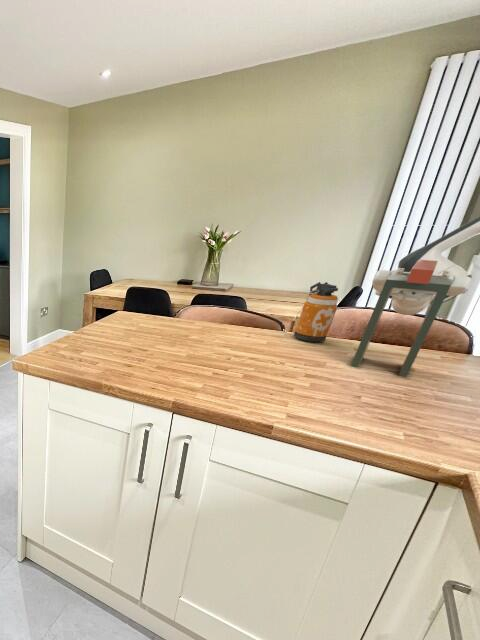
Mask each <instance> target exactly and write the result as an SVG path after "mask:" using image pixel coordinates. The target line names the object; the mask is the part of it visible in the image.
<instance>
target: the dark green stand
mask: <svg viewBox="0 0 480 640" xmlns="http://www.w3.org/2000/svg"><path fill="white" fill-rule="evenodd" d="M408 277H409V276H407V275H394V274H391V275H390V276H389V277H388V278H387V279H386V282H385V284H384V287H383V289H382V291H381V294H380V296H378V299H377V302H376V304H375V306H374V309H373V311H372V313H371V316H370V318H369V321H368V323H367V325H366V328H365V329H364V332H363V335H362V336H361V337H362V338H361V339H360V342H359V344H358V347H357V348H356V349H357V350H356V352H355V354H354V357H353V358H352V361H351V364H350V366H351V367H354V368H358V367H359V366H360V364H361V362H362V361H363V359H364V357H365V355H366V352H367V350H368V349H369V348H368V347H369V346H370V343H371V341H372V339H373V336H374V334H375V332H376V329H377V327H378V324H379V322H380V320H381V317H382V315H383V312H384V310H385V309H386V305H387V304H388V301H389V299H390V298H389V296H390V294H391V292H392V289H393V288H403V289H413V290H424V291H434V292H437V293H436V295H435V297H434V299H433V301H432V303H431V304H430V305H429V308H428V310H427V312H426V314H425V316H424V318H423V320H422V322H421V325H420V327H419V329H418V330H417V333H416V335H415V338H414V339H413V341H412V344H411V345H410V347H409V350H408V352H407V354H406V356H405V358H404V360H403V362H402V364H401V367H400V370H399V373H398V376H399V377H404V378H407V377H408V374H409V372H410V370H411V368H412V366H413V364H414V362H415V360H416V358H417V356H418V355H419V352H420V350H421V349H422V345H423V344H424V342H425V340H426V338H427V336H428V334H429V331H430V329H431V328H432V325H433V323H434V321H435V319H436V317H437V315H438V313H439V311H440V309H441V307H442V304H444V303H443V301H444V299H445V296H446V294H447V292H448V290H449V288H450V286H451V282H452V279H444V278H432V277H431V279H430V281H429V283H428V284H421V283H409V282H407V279H408Z"/></svg>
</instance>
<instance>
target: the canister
mask: <svg viewBox="0 0 480 640" xmlns="http://www.w3.org/2000/svg"><path fill="white" fill-rule="evenodd" d="M309 288H310V289H309V292H308V293H309V295H308V296H307V300H306V301H305V302H304V304H303V306H302V310H301V312H300V315H299V318H298V321H297V325H296V327H295V331H294V333H293V336H294V337H295V338H297V339H298V340H300V341H304V342H308V343H319V342H324V341H326V339H327V336H328V334H329V331H330V329H331V325H332V324H333V321H334V318H335V314H336V313H337V309H338V305H337V303H338V300H339V297H338V296H337V295H335V294H334V293H335V292H338V291H339V288H338V286H337V285H334V284H330V283H328V281H326V282H324V283H321V281H319V282H317V283H315V284H313V285H311V286H310V287H309ZM314 288H315V289H314Z"/></svg>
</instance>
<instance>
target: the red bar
mask: <svg viewBox="0 0 480 640" xmlns="http://www.w3.org/2000/svg"><path fill="white" fill-rule="evenodd" d="M437 262H438V261H431V260H418V261H417V262H416V264H415V265H414V267H413V268H412V270H411V273H410V275H409V277H408V279H407V282H409V283H421V284H428V283H429V281H430V279H431V277H432V274H433V272H434V270H435V267H436V265H437Z"/></svg>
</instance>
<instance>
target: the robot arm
mask: <svg viewBox="0 0 480 640" xmlns="http://www.w3.org/2000/svg"><path fill="white" fill-rule="evenodd" d="M478 235H480V216H477V217H476V218H473V219H472V220H470V221H469V222H466V223H464V224H463V225H461V226H459V227H458V228H456V229H454V230H452V231H450V232H448V233H447V234H445V235H442V236H441V237H439V238H437V239H436V240H434V241H432V242H430V243H428V244H426V245H424V246H421V247H420V248H418V249H416V250H413V251H411V252H410V253H408V254H406V255H405V256H404V257H402V258H401V259H400V260H399V261H398V265H397V269H394V270H385V269H380V270H379V269H378V270H376V272H375V273H374V276H373V278H372V284H371V285H372V288H373V290H374V292H375V293H374V294H375V295H376V296H378V297H379V296H380V294H381V291H382V289H383V287H384V284H385V282H386V279H387V278H388V277H389V276H390V275H391V274H394V275H407V276H409V275H410V273H411V270H412V268H413V267H414V265H415V264H416V262H417V261H418V260H431V261H438V262H437V265H436V267H435V270H434V272H433V274H432V278H444V279H452V282H451V286H450V288H449V290H448V292H447V294H446V296H445V299H444V301H443V303H442V304H444V303H446V302H449V301H451V300H452V299H454V298H456V297H458V296H460V295H463V294H466V293H467V292H468V289H469V287H470V285H471V283H472V281H473V275H472V274H471V273H469V272H468V271H467V270H465V269H464V268H462V267H461V266H460V265H457V264H456V263H455V262H453V261H451V260H450V259H448V258H447V257H445V256H444V253H445V252H447V251H448V250H450V249H452V248H454V247H456V246H458V245H460V244H462V243H463V242H465V241H467V240H469V239H471V238H473V237H475V236H478ZM436 293H437V292H434V291H424V290H413V289H403V288H393V289H392V292H391V294H390V296H389V299H391V307H392V309H393V311H394V312H396V313H397V314H399V315H403V316H414V315H417V314H420V313H421V312H423V311H425V309H427V308H428V307H430V306H431V303H432V301H433V299H434V297H435V295H436Z"/></svg>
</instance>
